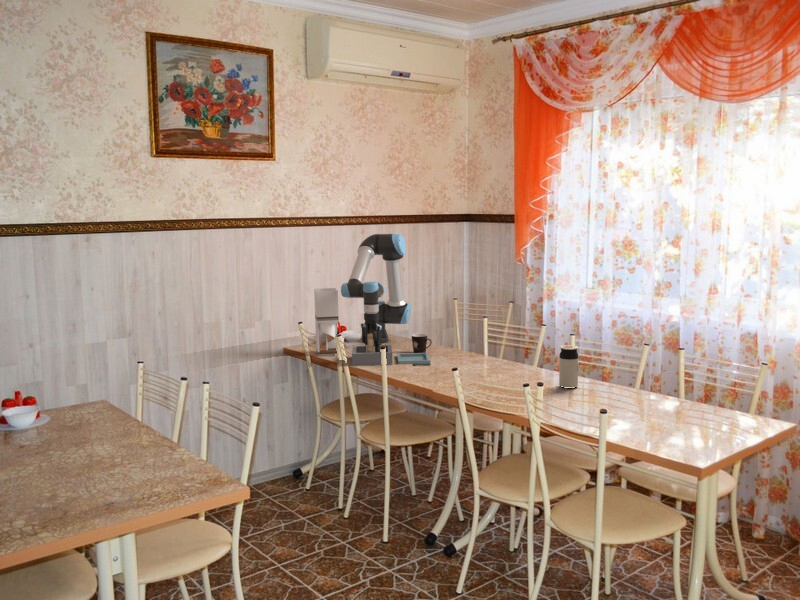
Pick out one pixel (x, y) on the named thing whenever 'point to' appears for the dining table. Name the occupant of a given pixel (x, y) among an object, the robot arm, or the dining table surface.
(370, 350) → the dowel pin
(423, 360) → the tray
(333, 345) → the white coffee grinder
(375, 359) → the grey open bin
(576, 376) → the travel mug
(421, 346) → the coffee mug
